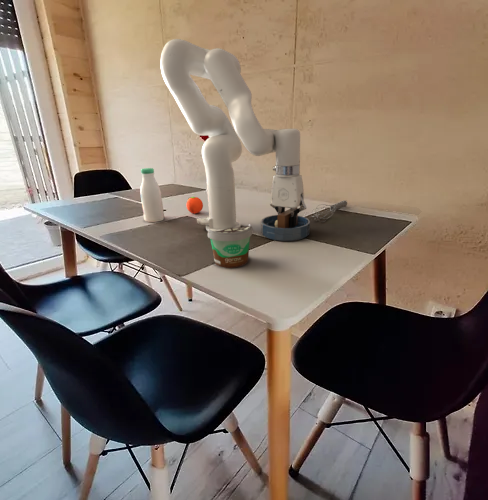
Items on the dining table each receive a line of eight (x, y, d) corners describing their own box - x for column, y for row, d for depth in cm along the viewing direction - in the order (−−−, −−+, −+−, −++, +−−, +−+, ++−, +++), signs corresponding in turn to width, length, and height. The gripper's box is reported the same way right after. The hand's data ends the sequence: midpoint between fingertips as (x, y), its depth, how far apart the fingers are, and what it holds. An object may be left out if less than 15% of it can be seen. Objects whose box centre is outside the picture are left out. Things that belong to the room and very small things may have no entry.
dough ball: (278, 233, 108) (274, 226, 106) (275, 227, 111) (271, 220, 108) (287, 227, 108) (283, 220, 105) (284, 222, 110) (280, 215, 108)
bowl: (267, 244, 97) (267, 230, 96) (257, 228, 112) (256, 216, 110) (316, 239, 100) (317, 226, 98) (300, 224, 115) (300, 213, 113)
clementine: (182, 213, 133) (180, 196, 130) (195, 209, 138) (193, 193, 135) (194, 216, 128) (192, 199, 125) (207, 212, 133) (205, 196, 130)
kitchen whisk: (352, 205, 139) (354, 191, 137) (323, 226, 113) (324, 209, 111) (339, 204, 142) (340, 190, 140) (308, 223, 116) (309, 207, 114)
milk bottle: (168, 218, 126) (162, 168, 118) (153, 223, 120) (145, 170, 112) (155, 216, 130) (148, 166, 122) (140, 220, 124) (131, 169, 116)
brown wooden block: (284, 232, 101) (284, 215, 99) (277, 230, 102) (277, 214, 100) (297, 224, 108) (297, 209, 106) (290, 223, 109) (290, 208, 107)
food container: (216, 273, 79) (213, 236, 75) (209, 264, 84) (206, 229, 80) (260, 264, 83) (260, 229, 79) (251, 256, 88) (250, 222, 85)
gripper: (259, 171, 100) (261, 226, 106) (306, 173, 91) (304, 233, 98) (271, 168, 105) (272, 220, 112) (316, 170, 96) (314, 226, 103)
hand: (287, 226), depth 105 cm, fingers closed on brown wooden block, 2 cm apart
